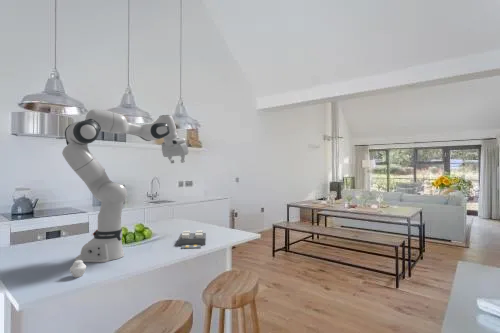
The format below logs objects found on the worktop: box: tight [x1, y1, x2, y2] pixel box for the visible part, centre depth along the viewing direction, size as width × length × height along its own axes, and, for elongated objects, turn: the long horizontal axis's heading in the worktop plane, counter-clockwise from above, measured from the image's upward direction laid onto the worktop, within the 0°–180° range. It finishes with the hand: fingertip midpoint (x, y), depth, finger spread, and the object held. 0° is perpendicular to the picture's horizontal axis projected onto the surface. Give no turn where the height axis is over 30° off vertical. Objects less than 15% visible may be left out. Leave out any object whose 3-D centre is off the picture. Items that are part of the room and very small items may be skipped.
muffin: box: [69, 260, 87, 278], centre depth 125 cm, size 6×6×7 cm
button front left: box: [182, 232, 189, 239], centre depth 176 cm, size 4×4×3 cm
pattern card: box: [180, 245, 202, 250], centre depth 169 cm, size 11×5×1 cm, turn 97°
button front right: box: [195, 232, 202, 238], centre depth 177 cm, size 4×4×3 cm
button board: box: [177, 232, 207, 247], centre depth 180 cm, size 16×14×4 cm
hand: (177, 162), depth 180 cm, fingers open, 8 cm apart
